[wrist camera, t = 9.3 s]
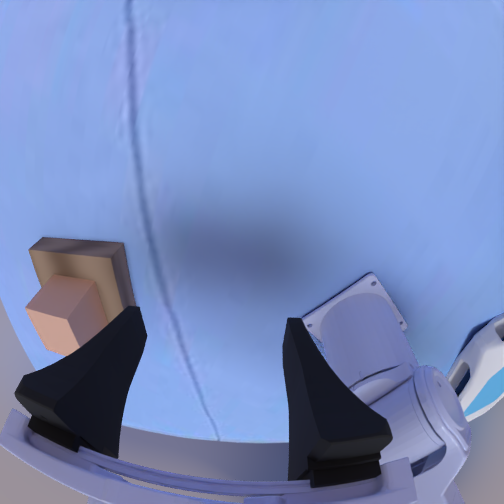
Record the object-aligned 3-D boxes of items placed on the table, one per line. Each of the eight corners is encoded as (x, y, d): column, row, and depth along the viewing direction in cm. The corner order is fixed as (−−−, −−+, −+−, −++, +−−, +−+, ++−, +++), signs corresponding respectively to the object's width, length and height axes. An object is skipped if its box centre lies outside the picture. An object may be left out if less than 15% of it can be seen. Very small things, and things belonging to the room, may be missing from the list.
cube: (95, 280, 20) (66, 319, 16) (108, 323, 23) (87, 362, 18) (53, 274, 20) (24, 307, 16) (69, 315, 23) (46, 349, 18)
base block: (125, 240, 22) (110, 258, 19) (143, 324, 27) (134, 345, 24) (45, 234, 22) (28, 249, 19) (70, 310, 27) (59, 327, 24)
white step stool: (543, 291, 24) (562, 312, 19) (490, 385, 38) (499, 404, 32) (469, 325, 26) (490, 358, 21) (419, 417, 40) (426, 441, 34)
